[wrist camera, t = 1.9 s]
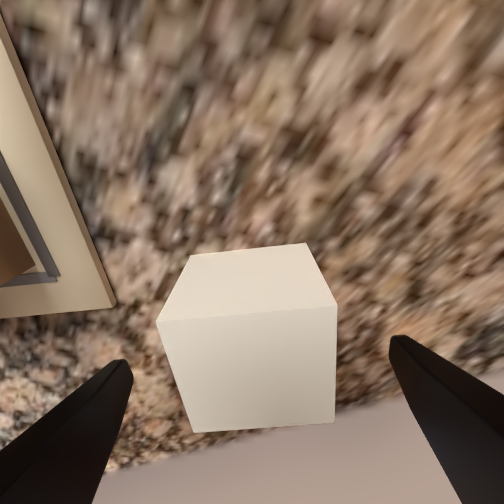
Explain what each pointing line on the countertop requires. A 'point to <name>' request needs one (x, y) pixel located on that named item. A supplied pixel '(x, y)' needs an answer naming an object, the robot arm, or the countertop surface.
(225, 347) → the cream block
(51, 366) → the countertop surface
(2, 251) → the walnut block
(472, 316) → the countertop surface
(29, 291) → the build plate
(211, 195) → the countertop surface
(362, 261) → the countertop surface
